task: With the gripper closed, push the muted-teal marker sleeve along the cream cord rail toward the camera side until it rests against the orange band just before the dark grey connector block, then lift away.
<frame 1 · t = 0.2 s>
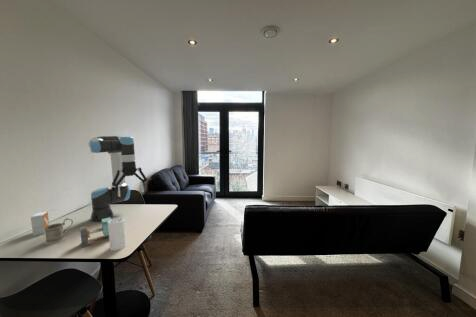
hand: (131, 194, 131), 27 cm above the table, fingers open, 13 cm apart
small box: (41, 232, 139), on the table
cup: (118, 246, 119), on the table
cord rail: (101, 239, 127), on the table
mug: (60, 239, 129), on the table
marker sleeve: (107, 226, 129), point 8 cm above the table, slide at 0.0 cm
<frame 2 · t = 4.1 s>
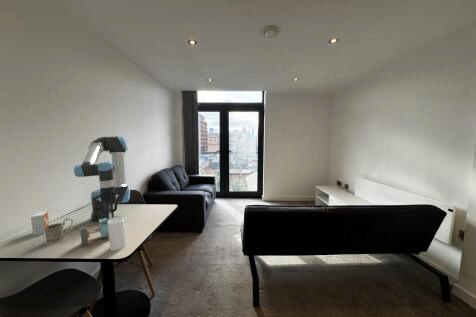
hand: (110, 222, 130), 9 cm above the table, fingers closed
marker sleeve: (105, 227, 128), point 8 cm above the table, slide at 1.3 cm, touching gripper
everything else where it was.
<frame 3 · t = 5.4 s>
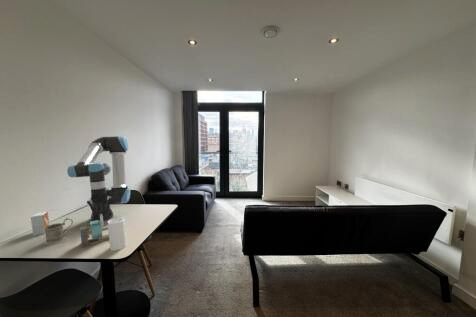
hand: (102, 224, 127), 9 cm above the table, fingers closed
marker sleeve: (96, 229, 125), point 8 cm above the table, slide at 6.0 cm, touching gripper
everything else where it was.
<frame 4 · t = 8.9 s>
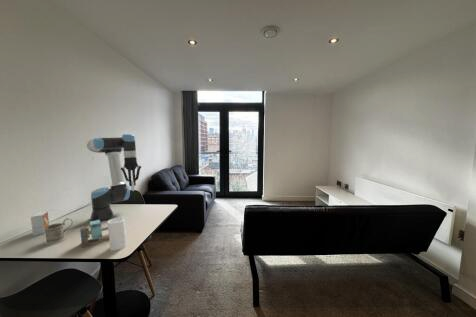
hand: (133, 190, 142), 26 cm above the table, fingers closed
marker sleeve: (96, 229, 125), point 7 cm above the table, slide at 6.0 cm
everything else where it was.
at the end: marker sleeve slide at 6.0 cm; marker sleeve touching nothing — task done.
